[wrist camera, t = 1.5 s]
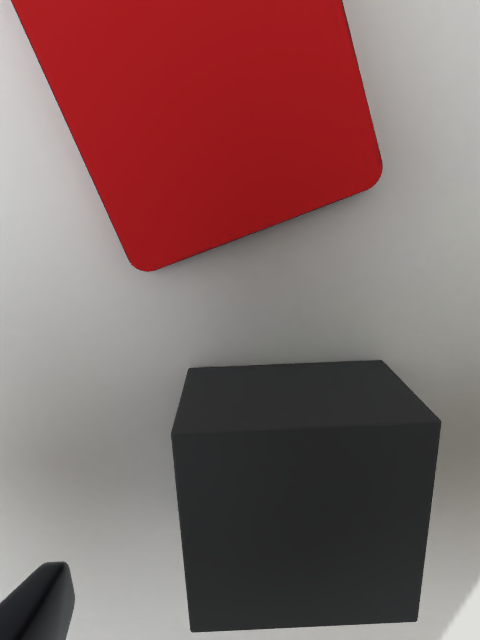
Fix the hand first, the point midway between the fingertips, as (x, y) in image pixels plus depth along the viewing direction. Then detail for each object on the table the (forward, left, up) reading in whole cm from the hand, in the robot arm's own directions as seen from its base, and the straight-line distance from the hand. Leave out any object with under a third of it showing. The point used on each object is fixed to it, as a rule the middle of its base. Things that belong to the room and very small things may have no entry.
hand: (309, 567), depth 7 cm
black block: (0, 0, -4) cm, 4 cm away
